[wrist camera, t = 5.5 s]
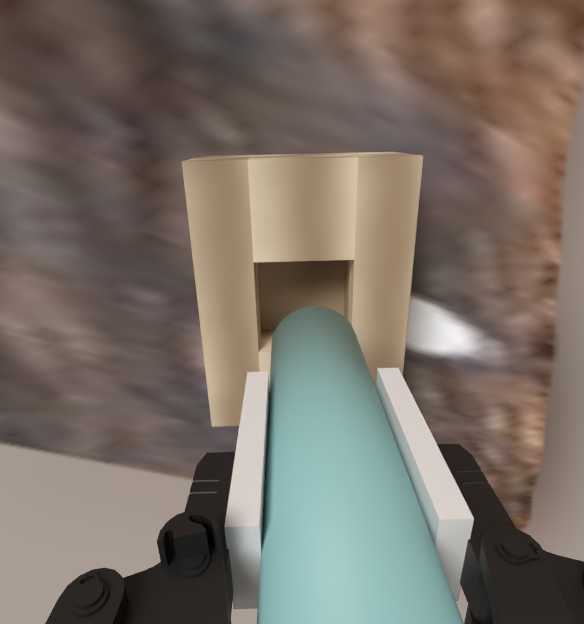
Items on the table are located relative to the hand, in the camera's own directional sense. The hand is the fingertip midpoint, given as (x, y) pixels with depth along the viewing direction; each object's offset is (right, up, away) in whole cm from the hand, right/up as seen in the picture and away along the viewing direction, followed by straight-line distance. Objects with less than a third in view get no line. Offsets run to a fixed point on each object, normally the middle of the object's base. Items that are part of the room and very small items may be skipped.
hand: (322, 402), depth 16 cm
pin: (0, +2, +4) cm, 5 cm away
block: (-1, +6, +14) cm, 15 cm away
